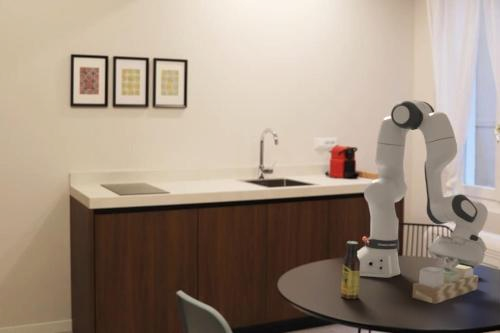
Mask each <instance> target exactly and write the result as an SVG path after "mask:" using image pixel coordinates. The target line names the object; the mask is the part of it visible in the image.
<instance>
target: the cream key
mask: <svg viewBox="0 0 500 333" xmlns="http://www.w3.org/2000/svg"><path fill="white" fill-rule="evenodd" d="M453 271H457V273H459V278H463V279H466V278H469V277H472V276H473V275H474V268H473V269H472V267H468V266H464V265H457V266H456V267H454V268H453Z"/></svg>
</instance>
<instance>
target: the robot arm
mask: <svg viewBox="0 0 500 333" xmlns="http://www.w3.org/2000/svg"><path fill="white" fill-rule="evenodd" d="M379 126H380V127H379V130H378V135H377V140H376V148H375V160H374V161H375V164H376V167H377V170H378V171H377V173H378V178H375V179H373V180H372V181H370V182H368V184H366V186H365V188H364V190H363V191H364V192H363V196H364V199H365V201H366V202H367V205H368V209H369V214H370V236H368V237H367V236H363V237H362V241H363V242H364V246H363V247H361V248H360V249H359V250H358V249H357V253H358V254H357V256H358V258H359V260H360V277H370V278H371V277H373V278H387V279H389V278H392V277H394V276H398V275H400V274H401V270H400V265H399V264H400V263H399V256H398V253H399V250H400V238H399V218H398V217H397V212H396V207H395V203H398V202H400V201H401V200H402V199H403V198H404V197H405V196H406V194H407V191H408V186H407V183H406V182H405V172H404V160H405V149H406V147H405V146H406V138H407V134H408V133H409V132H410V131H411V130H412V131H415V130H419V131H420V132H421V134H422V135H423V139H424V144H425V149H426V158H425V161H424V167H423V168H424V180H425V189H426V190H425V191H426V199H427V200H426V214H427V217H428V218H429V220H430V221H431V222H432V223H434V224H435V225H444V224H447V223H454V224H455V226H454V228H453V230H452V232H451V234H450V235H449V236H447V235H440V236H437V237H435V239H434V240H433V242H432V243H431V244H430V246H429V247H428V249H427V250H428V253H429V255H430V256H431V257H432V258H436V259H440V260H441V259H442V260H443V263H444V264H443V266H442V269H445V270H449V271H452V270H453V268H454V267H456V266H457V265H458V264H459V263H463V264H467V265H472V266H474V267H476V268H477V267H480V266H481V265H482V263H483V262H484V258H485V252H486V251H487V246H486V244H485V242H484V240H483V239H482V238H481V237H480V236H479V234H480V233H481V231H482V230H483V228H484V226H485V224H486V222H487V220H488V214H489V213H488V212H489V210H488V209H487V207H486V205H485V204H483V203H482V202H480V201H478V200H471V199H469V198H468V196H466V195H464V194H453V195H449V196H444V194H443V185H442V173H443V171H444V170H445V168H446V167H447V166H448V165H450V164H451V163H452V162H453V160H454V159H455V158H456V156H457V153H458V144H457V139H456V135H455V132H454V129H453V126H452V123H451V120H450V119H449V117H448V115H447V114H446V113H444V112H442V111H435V110H434V107H433V106H432V105H431V104H430V103H428V102H425V101H421V100H415V99H414V100H403V101H399V102H398V103H396V104H395V105H394V106H393V107H392V109H391V112H390V115H389V116H386V117H384V118H383V119H381V121H380V125H379ZM453 261H454V262H453ZM450 262H452V263H450Z"/></svg>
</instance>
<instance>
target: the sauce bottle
mask: <svg viewBox="0 0 500 333" xmlns="http://www.w3.org/2000/svg"><path fill="white" fill-rule="evenodd" d="M345 246H346V252H345V256H344V258H343V261H342V267H341V282H340V283H341V284H340V286H341V287H340V292H341V297H342V298H344V299H347V300H349V299H350V300H354V299H355V300H356V299H358V297H359V293H360V279H361V276H360V260H359V258H358V256H357V254H358V253H357V251H358V248H359V242H358V241H354V240H352V241H351V240H348V241H347V242H346V245H345Z"/></svg>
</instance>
